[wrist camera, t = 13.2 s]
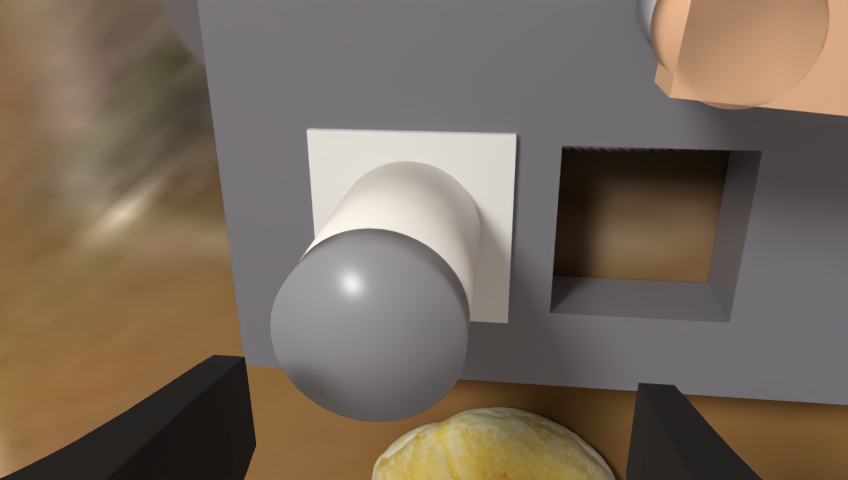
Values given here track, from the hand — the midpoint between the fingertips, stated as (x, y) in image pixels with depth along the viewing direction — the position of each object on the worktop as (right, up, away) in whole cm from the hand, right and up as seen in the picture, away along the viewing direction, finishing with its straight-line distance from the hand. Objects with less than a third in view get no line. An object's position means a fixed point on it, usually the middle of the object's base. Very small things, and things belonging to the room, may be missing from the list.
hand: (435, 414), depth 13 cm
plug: (-1, +3, +7) cm, 8 cm away
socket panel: (+4, +6, +8) cm, 11 cm away
